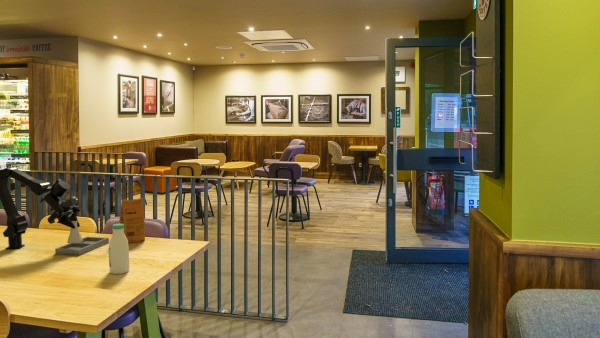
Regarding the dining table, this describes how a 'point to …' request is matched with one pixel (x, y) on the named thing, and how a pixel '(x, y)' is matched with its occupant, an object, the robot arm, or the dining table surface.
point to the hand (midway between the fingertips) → (77, 227)
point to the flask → (74, 234)
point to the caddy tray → (82, 246)
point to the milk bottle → (118, 250)
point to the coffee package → (133, 220)
